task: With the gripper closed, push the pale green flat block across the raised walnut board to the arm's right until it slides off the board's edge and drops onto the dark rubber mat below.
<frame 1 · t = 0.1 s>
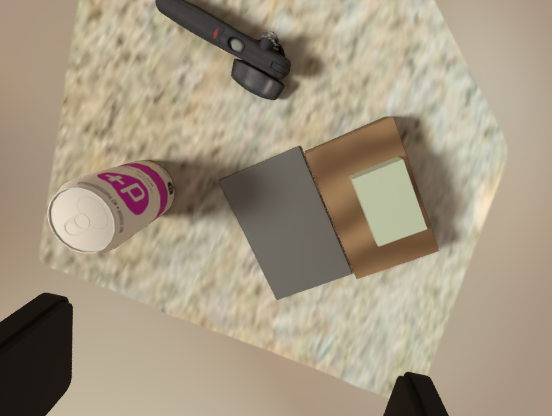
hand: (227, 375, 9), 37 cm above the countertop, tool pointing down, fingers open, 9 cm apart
mat: (287, 227, 47), on the countertop
pale green flat block: (387, 202, 40), point 5 cm above the countertop, touching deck
can opener: (229, 43, 42), on the countertop
supplement can: (149, 188, 48), on the countertop
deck: (367, 196, 45), on the countertop
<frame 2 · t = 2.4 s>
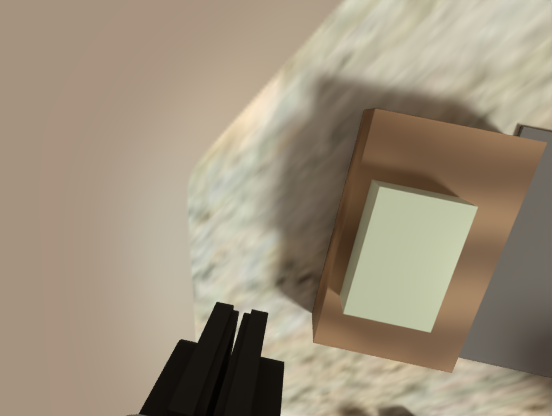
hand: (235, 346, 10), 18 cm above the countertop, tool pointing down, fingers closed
mat: (546, 264, 27), on the countertop
pale green flat block: (401, 256, 22), point 5 cm above the countertop, touching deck
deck: (401, 234, 27), on the countertop
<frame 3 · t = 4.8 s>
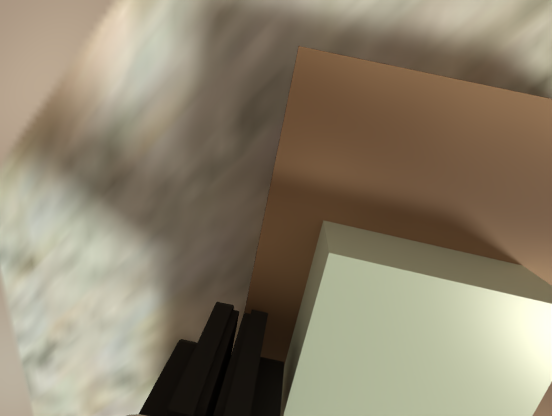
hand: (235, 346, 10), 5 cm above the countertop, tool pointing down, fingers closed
pale green flat block: (386, 393, 10), point 5 cm above the countertop, touching gripper
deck: (375, 303, 15), on the countertop
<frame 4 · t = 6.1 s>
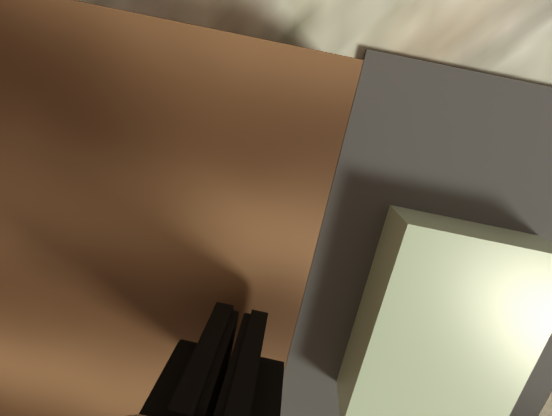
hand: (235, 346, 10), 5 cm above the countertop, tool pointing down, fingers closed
mat: (435, 316, 15), on the countertop
pale green flat block: (438, 332, 13), point 1 cm above the countertop, tilted 180°, touching mat
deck: (176, 259, 15), on the countertop
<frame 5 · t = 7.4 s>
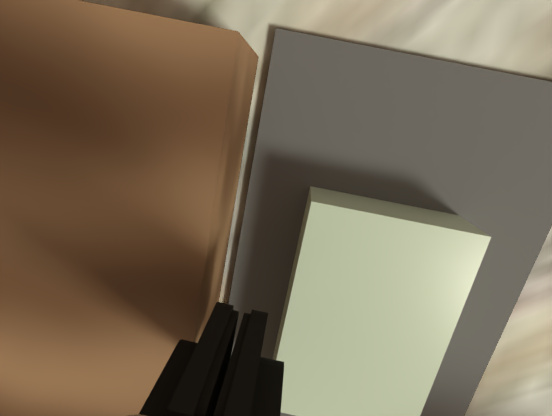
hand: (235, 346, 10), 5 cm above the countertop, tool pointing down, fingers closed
mat: (365, 299, 15), on the countertop
pale green flat block: (360, 313, 13), point 1 cm above the countertop, tilted 180°, touching mat
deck: (106, 244, 15), on the countertop
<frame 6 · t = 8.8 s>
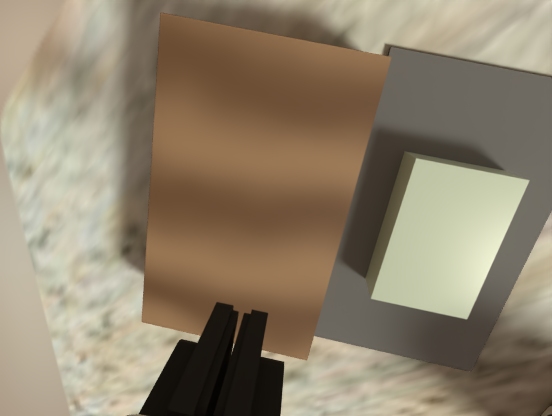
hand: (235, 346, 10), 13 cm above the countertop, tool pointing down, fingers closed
mat: (435, 230, 22), on the countertop
pale green flat block: (436, 236, 20), point 1 cm above the countertop, tilted 180°, touching mat
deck: (256, 192, 22), on the countertop
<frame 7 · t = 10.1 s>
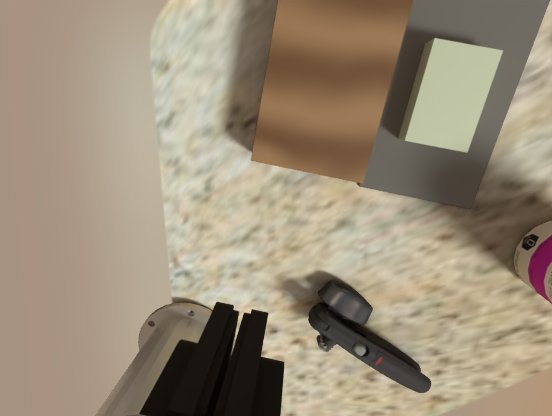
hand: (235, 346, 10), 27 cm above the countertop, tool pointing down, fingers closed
mat: (444, 101, 33), on the countertop
pale green flat block: (446, 98, 31), point 1 cm above the countertop, tilted 180°, touching mat
can opener: (366, 330, 41), on the countertop
supplement can: (548, 252, 36), on the countertop
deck: (325, 77, 33), on the countertop
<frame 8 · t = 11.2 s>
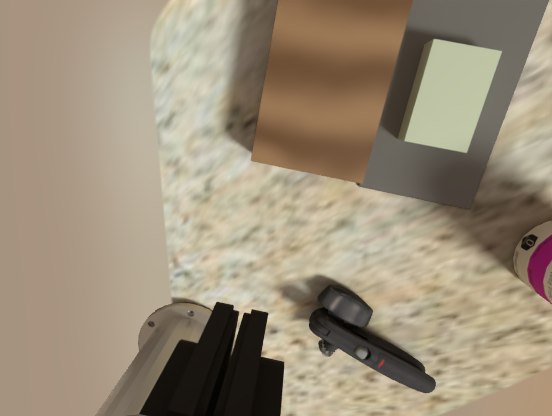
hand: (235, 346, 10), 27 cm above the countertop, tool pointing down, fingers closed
mat: (444, 101, 33), on the countertop
pale green flat block: (445, 98, 31), point 1 cm above the countertop, tilted 180°, touching mat
can opener: (368, 332, 41), on the countertop
supplement can: (547, 252, 36), on the countertop
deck: (325, 78, 33), on the countertop
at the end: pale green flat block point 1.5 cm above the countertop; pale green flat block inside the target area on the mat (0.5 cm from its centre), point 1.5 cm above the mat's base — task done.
